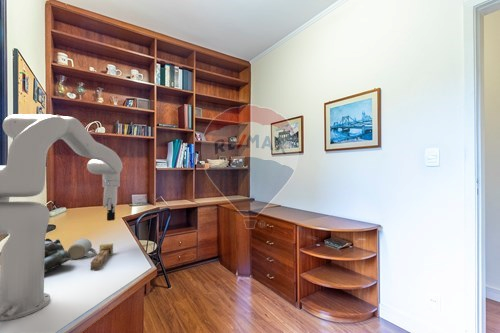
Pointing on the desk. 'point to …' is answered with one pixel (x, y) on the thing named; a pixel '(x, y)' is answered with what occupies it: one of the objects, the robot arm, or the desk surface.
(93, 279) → the desk surface
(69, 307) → the desk surface
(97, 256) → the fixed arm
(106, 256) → the bar
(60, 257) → the lucky cat figurine
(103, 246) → the collar
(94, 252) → the ceramic mug
